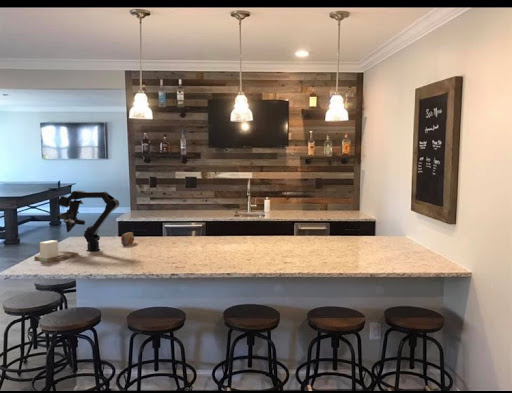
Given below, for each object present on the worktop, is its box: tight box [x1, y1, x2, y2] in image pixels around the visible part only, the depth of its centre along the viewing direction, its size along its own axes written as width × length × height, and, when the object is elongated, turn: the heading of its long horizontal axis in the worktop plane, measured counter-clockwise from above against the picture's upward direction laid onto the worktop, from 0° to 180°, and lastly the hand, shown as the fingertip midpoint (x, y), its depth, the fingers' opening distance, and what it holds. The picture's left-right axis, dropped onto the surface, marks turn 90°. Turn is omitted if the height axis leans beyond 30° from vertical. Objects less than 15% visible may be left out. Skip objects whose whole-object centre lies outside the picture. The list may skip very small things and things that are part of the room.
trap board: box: [33, 250, 79, 263], centre depth 269 cm, size 20×15×2 cm
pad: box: [38, 256, 56, 263], centre depth 263 cm, size 6×7×2 cm
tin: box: [120, 231, 135, 247], centre depth 311 cm, size 15×3×8 cm, turn 168°
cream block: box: [39, 239, 59, 258], centre depth 263 cm, size 8×6×9 cm
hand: (67, 232), depth 288 cm, fingers closed
